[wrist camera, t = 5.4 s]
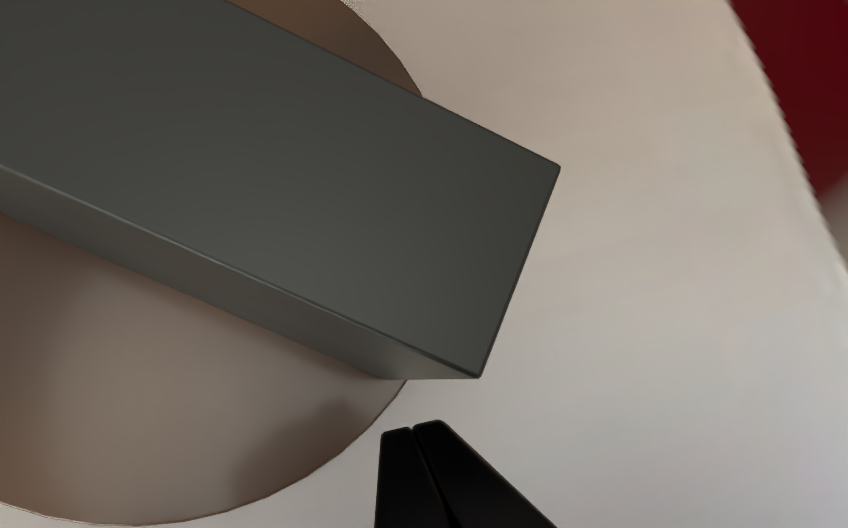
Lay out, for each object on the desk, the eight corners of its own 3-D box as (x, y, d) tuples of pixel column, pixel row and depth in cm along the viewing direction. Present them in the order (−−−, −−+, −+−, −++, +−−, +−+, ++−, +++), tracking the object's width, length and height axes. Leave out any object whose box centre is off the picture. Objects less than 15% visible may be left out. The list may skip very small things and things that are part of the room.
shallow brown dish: (548, 190, 17) (558, 182, 17) (197, 652, 14) (193, 666, 13) (142, -152, 17) (136, -174, 16) (-337, 248, 13) (-369, 241, 13)
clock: (386, 381, 15) (481, 381, 8) (-160, 143, 13) (-620, -108, 7) (440, 252, 16) (568, 151, 9) (-71, 14, 14) (-399, -335, 7)
